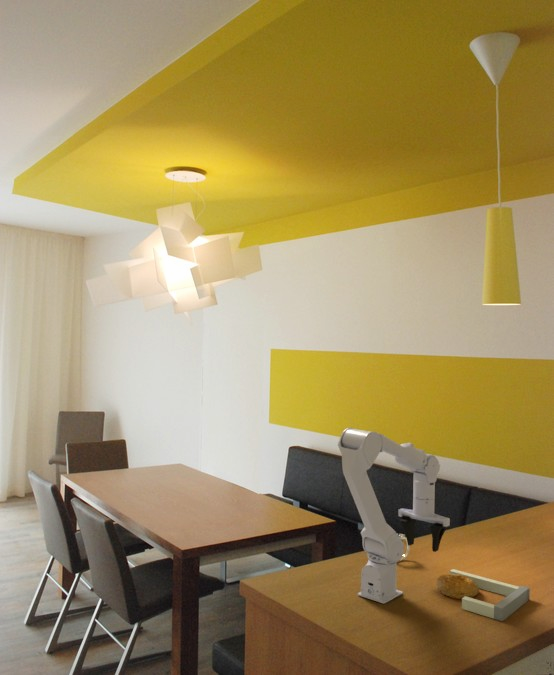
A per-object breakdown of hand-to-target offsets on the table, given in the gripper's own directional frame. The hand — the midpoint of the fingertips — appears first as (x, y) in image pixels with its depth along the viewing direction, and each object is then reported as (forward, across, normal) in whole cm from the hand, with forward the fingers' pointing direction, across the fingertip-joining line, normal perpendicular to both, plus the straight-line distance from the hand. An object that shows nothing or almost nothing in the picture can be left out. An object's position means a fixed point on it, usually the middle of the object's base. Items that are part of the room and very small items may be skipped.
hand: (422, 547), depth 168 cm
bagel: (+10, -10, 0) cm, 14 cm away
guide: (+9, -15, 0) cm, 18 cm away
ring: (+10, +14, -11) cm, 20 cm away
